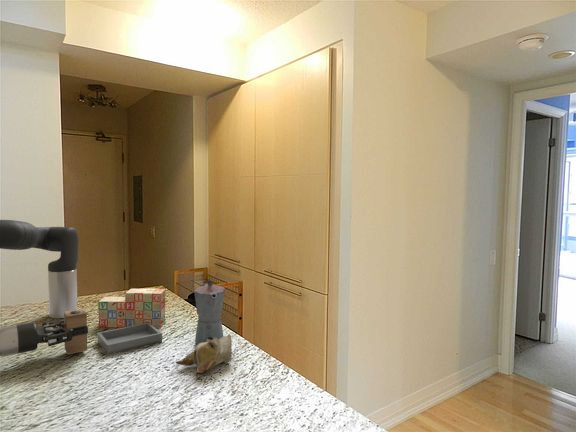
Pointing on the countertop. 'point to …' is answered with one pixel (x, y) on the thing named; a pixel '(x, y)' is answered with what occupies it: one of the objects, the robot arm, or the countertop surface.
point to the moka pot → (209, 311)
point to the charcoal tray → (128, 338)
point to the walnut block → (72, 321)
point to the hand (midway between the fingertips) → (85, 326)
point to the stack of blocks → (133, 308)
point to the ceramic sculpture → (209, 354)
